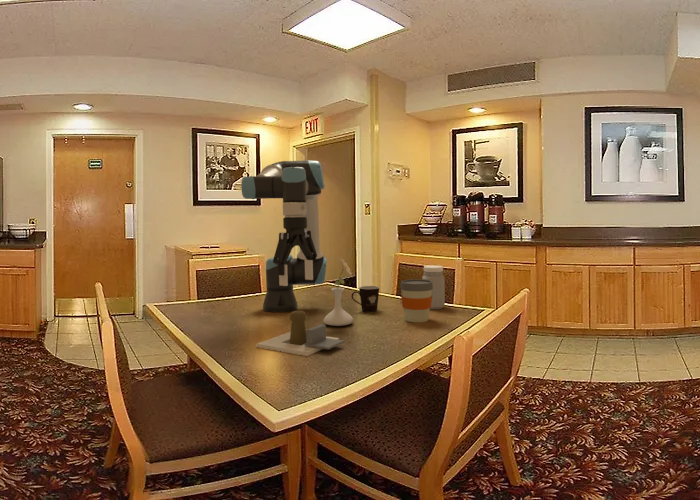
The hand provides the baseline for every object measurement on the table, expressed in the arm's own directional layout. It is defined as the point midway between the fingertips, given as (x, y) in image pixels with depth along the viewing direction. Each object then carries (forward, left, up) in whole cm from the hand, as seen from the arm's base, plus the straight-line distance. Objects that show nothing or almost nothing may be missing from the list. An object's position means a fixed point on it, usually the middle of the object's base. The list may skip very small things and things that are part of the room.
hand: (296, 282), depth 162 cm
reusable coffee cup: (+20, +50, -21) cm, 58 cm away
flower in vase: (-3, +30, -21) cm, 36 cm away
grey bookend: (+10, 0, -19) cm, 22 cm away
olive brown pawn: (0, 0, -21) cm, 21 cm away
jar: (+17, +75, -21) cm, 79 cm away
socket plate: (0, 0, -20) cm, 20 cm away
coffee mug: (-6, +56, -21) cm, 60 cm away
